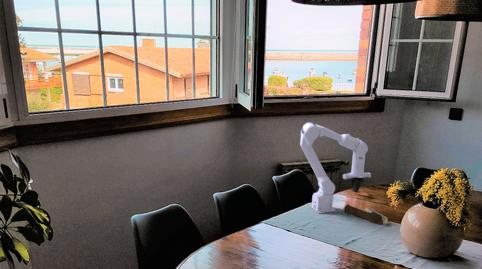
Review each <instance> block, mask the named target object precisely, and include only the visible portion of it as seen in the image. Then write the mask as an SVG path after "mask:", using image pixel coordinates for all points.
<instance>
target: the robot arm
mask: <svg viewBox="0 0 482 269" xmlns="http://www.w3.org/2000/svg"><path fill="white" fill-rule="evenodd" d="M318 137H320V138H321V137H327V138H330V139H332V140H335V141H338V144H339V145H340V146H342V147H344V148H347V149H349V150H351V151H352V157H351V158H352V159H351V161H352V162H351V171H350V172H348V173H344V174H342V179H344V180H348V179H349V181H350V184H351V186H352V192H353V193H356V194H357V193H358V192H359V191H360V189H361V186H362V184H363V183H364V181H365V178H372V173H370V171H369V172H364V171H365V163H366V162H365V161H366V154H367V153H368V151H369V146H368V145H367V143H366V142H364V141H363V140H361V139H360V138H358V137H356V138H355V137H354V136H351V134H350V133H347V134H346V133H343V134H340V133H337V132H335V131H333V130H332V129H329V128H327V127H325V126H322V125H319V124H316V123H315V124H314V123H313V122H306V123H304V124H303V125H302V128H301V130H300V141H299V144H300V148H301V150H302V151H303V153H304V155H305V157H306V159H307V161H308V163H309V165H310V167H311V168H312V170H313V172H314V174H315V177H316V179H317V185H318V187H319V188H318V190H317V191H316V192H313V194H312V196H311V197H312V198H311V207H310V208H311V209H313V210H314V211H315V212H316V213H318V214H324V213H325V212H326V213H333V212H336V209H334V208H333V205H334V204H333V201H334V192H335V191H336V185H335V183H333V181H331V179H330V177H329V176H328V174H327V173H326V172H325V170H324V168H323V165H322V164H321V162H320V160H319V158H318V155H317V154H316V152H315V149H314V148H313V143H314V142H315V140H317V139H318ZM326 213H325V214H326Z"/></svg>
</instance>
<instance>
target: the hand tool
mask: <svg viewBox="0 0 482 269" xmlns="http://www.w3.org/2000/svg"><path fill="white" fill-rule="evenodd" d="M344 213H347V214H351V215H353V216H357V217H359V218H363V219H365V220H367V221H369V223H372V224H375V225H381V226H382V225H384V224H383V219H382V217H381V215H382V214H381V213H380V214H381V215H380V214H377V213H375V212H371V213H369V212H366V211H365V210H363V209H361V208H358V207H355V206H352V205H350V203H349V204H346V205H345V206H344Z"/></svg>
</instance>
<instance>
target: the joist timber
mask: <svg viewBox="0 0 482 269" xmlns="http://www.w3.org/2000/svg"><path fill="white" fill-rule="evenodd" d="M364 211H366V212H369V213H371V212H375V213H377V214H380V215H381V217H382V219H383V224H382V225H386V224H388V217H386V216H385V215H383V214H382V213H379V212H378V211H376V210H375V209H373V208H371V207H368V208H367V207H366V208H365V210H364Z"/></svg>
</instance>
